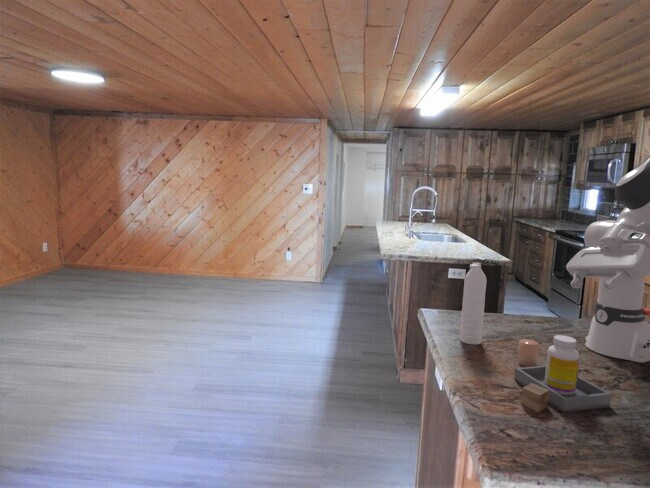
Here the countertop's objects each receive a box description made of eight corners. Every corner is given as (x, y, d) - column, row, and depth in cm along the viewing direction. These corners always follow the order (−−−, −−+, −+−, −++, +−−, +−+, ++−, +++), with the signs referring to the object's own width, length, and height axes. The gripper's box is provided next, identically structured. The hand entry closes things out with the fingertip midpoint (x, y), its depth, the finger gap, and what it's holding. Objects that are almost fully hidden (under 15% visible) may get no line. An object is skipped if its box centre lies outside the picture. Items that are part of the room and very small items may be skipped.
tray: (555, 375, 113) (557, 364, 112) (609, 406, 98) (611, 393, 97) (514, 379, 110) (515, 368, 109) (563, 412, 94) (564, 399, 94)
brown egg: (528, 358, 123) (530, 338, 122) (541, 366, 118) (543, 345, 117) (513, 360, 122) (515, 339, 121) (525, 367, 117) (527, 346, 116)
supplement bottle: (579, 398, 100) (586, 345, 98) (548, 394, 101) (554, 342, 99) (569, 385, 106) (575, 334, 104) (540, 382, 107) (545, 332, 105)
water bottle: (461, 336, 140) (467, 260, 136) (483, 340, 137) (489, 262, 133) (456, 344, 132) (462, 264, 128) (478, 349, 129) (485, 267, 125)
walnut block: (530, 399, 100) (532, 383, 99) (547, 407, 97) (549, 390, 96) (520, 404, 98) (522, 387, 97) (538, 412, 94) (539, 395, 94)
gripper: (577, 239, 115) (548, 277, 111) (654, 233, 95) (621, 278, 92) (592, 256, 115) (563, 294, 112) (671, 253, 96) (639, 299, 93)
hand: (590, 287), depth 102 cm, fingers open, 8 cm apart
